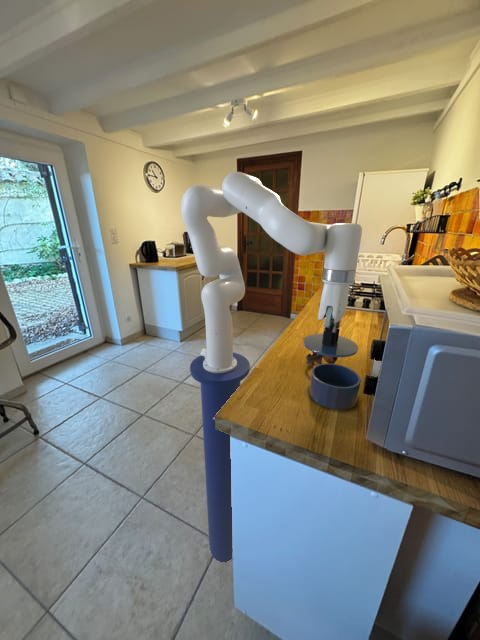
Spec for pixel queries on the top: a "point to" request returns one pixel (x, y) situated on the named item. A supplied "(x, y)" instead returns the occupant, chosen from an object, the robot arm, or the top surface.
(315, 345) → the bowl lid
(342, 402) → the bowl
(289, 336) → the top surface
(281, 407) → the top surface
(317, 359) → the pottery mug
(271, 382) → the top surface
